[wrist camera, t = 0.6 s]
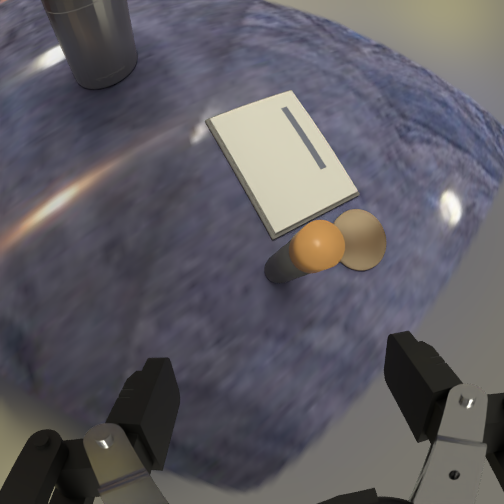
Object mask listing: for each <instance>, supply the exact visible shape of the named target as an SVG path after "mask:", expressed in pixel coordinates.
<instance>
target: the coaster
mask: <svg viewBox="0 0 504 504" xmlns="http://www.w3.org/2000/svg"><path fill="white" fill-rule="evenodd" d="M334 225H335V226H336V227H337V228H338V229H339V230H340V231H341V233H342V235H343V237H344V241H345V251H344V255H343V257H342V259H341V260H340V262H341V263H342V264H344V265H345V266H346V267H348V268H350V269H353V270H359V271H361V270H367V269H370V268H372V267H374V266H376V265H377V264H378V263H379V262H380V261H381V259H382V258H383V256H384V253H385V250H386V236H385V232H384V229H383V227H382V225H381V224H380V222H379V221H378V220H377V219H376V218H375V217H374V216H373V215H372V214H370V213H369V212H366V211H364V210H360V209H353V210H348V211H346V212H344V213H343V214H341V215H340V216H339V217H338V218H337V219H336V220H335V222H334Z"/></svg>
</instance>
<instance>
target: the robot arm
mask: <svg viewBox="0 0 504 504" xmlns="http://www.w3.org/2000/svg"><path fill="white" fill-rule="evenodd" d="M41 2H42V4H43V6H44V9H45V11H46V13H47V16H48V18H49V21H50V23H51V25H52V28H53V30H54V33H55V35H56V37H57V39H58V42H59V44H60V46H61V48H62V51H63V53H64V55H65V57H66V60H67V62H68V64H69V66H70V68H71V71H72V73H73V75H74V77H75V79H76V81H77V82H78V84H79V85H81V86H82V87H85V88H87V89H101V88H105V87H108V86H111V85H114V84H116V83H117V82H119V81H121V80H122V79H124V78H125V77H126V76H127V75H128V74H129V73H130V72H131V71H132V70H133V68H134V67H135V65H136V63H137V52H136V47H135V42H134V36H133V31H132V26H131V20H130V15H129V9H128V4H127V0H41ZM384 376H385V381H386V383H387V385H388V387H389V389H390V391H391V393H392V395H393V396H394V398H395V400H396V402H397V404H398V406H399V408H400V410H401V412H402V414H403V416H404V417H405V419H406V421H407V423H408V425H409V427H410V429H411V431H412V433H413V435H414V437H415V439H416V441H417V442H418V443H419V442H422V441H425V440H428V439H429V441H430V443H431V445H430V448H429V450H428V453H427V456H426V459H425V462H424V464H423V467H422V470H421V472H420V475H419V477H418V480H417V482H416V485H415V487H414V489H413V492H412V494H411V496H410V498H409V500H408V501H407V500H404V499H400V498H394V497H377V493H376V490H375V488H372V489H367V490H363V491H358V492H354V493H349V494H344V495H339V496H336V497H334V498H331V499H329V500H326V501H323V502H321V503H318V504H475V501H476V497H477V493H478V489H479V485H480V480H481V476H482V471H483V466H484V461H485V457H486V458H487V460H488V462H489V464H490V466H491V468H492V470H493V471H494V473H495V475H496V477H497V479H498V481H499V483H500V485H501V487H502V489H503V491H504V393H498V394H486V393H485V391H484V390H483V389H482V388H480V387H479V386H476V385H473V384H463V383H462V382H461V380H460V379H459V378H458V377H457V375H456V374H455V373H454V372H453V370H452V369H451V368H450V367H449V366H448V364H447V363H445V361H444V360H443V358H442V357H441V356H439V354H438V353H437V352H436V350H435V349H434V348H433V347H432V346H430V345H428V344H427V343H425V342H423V341H420V342H418V341H417V340H416V339H415V338H414V336H413V335H412V334H411V333H410V332H409V331H404V332H399V333H394V334H390V335H389V336H388V339H387V348H386V356H385V364H384ZM122 389H123V390H121V392H120V394H119V398H117V400H116V402H115V404H114V406H113V408H112V410H111V412H110V414H109V416H108V418H107V420H106V422H105V423H103V424H99V425H96V426H94V427H92V428H91V429H90V430H89V431H88V432H87V433H86V434H85V436H84V438H83V439H76V440H66V441H63V440H62V438H61V437H60V435H59V434H58V433H57V432H56V431H54V430H49V429H46V430H41V431H38V432H36V433H34V434H33V435H32V436H31V437H30V438H29V439H28V441H27V442H26V444H25V446H24V447H23V449H22V451H21V453H20V455H19V456H18V458H17V460H16V462H15V464H14V466H13V467H12V469H11V471H10V473H9V475H8V477H7V479H6V480H5V482H4V484H3V486H2V488H1V490H0V504H48V501H49V498H50V496H51V493H52V491H53V489H54V486H55V490H54V492H53V495H52V497H51V500H50V502H49V504H93V501H94V498H95V497H99V496H100V497H101V499H102V501H103V503H104V504H169V503H168V502H167V500H166V499H165V497H164V496H163V495H162V493H161V492H160V490H159V488H158V487H157V485H156V484H155V483H154V481H153V479H152V478H151V476H150V473H151V470H161V471H163V467H164V463H165V459H166V455H167V451H168V447H169V443H170V440H171V436H172V432H173V428H174V424H175V420H176V416H177V413H178V409H179V405H180V393H179V388H178V385H177V382H176V378H175V375H174V371H173V368H172V364H171V361H170V359H169V358H148V359H147V361H146V363H145V365H144V367H143V369H142V371H136V372H135V373H133V374H132V375H131V376H130V377H129V378H128V379H127V380H126V382H125V384H124V386H123V388H122Z"/></svg>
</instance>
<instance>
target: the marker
mask: <svg viewBox="0 0 504 504" xmlns="http://www.w3.org/2000/svg"><path fill="white" fill-rule="evenodd" d="M344 251H345V241H344V237H343V235H342V233H341V231H340V230H339V229H338V228H337V227H336V226H335V225H334V224H332V223H331V222H328V221H325V220H315V221H312V222H310V223H308V224H307V225H306V226H305V227H304V228H302V229H301V230H300V231H299V232H298V233H297V234H295V235H294V237H293V238H292V239H291V240H290V241H289V242H288V243H287V244H286V245H284V246H283V247H282V248H281V249H280V250H278V251H277V252H276V253H275V254H274V255H272V256H271V257H270V258H269V259H268V261H267V263H266V265H265V274H266V276H267V278H268V279H269V280H270V281H272V282H274V283H285V282H288V281H291V280H293V279H296V278H299V277H302V276H305V275H307V274H310V273H317V272H320V271H322V270H325V269H328V268H331V267H333V266H335V265H336V264H338V263H339V262H340V260H341V259H342V257H343V255H344Z"/></svg>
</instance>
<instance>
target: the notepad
mask: <svg viewBox="0 0 504 504" xmlns="http://www.w3.org/2000/svg"><path fill="white" fill-rule="evenodd" d="M205 122H206V124H207V126H208V128H209V129H210V131H211V133H212V134H213V136H214V138H215V140H216V141H217V143H218V145H219V147H220V148H221V150H222V152H223V154H224V155H225V157H226V159H227V161H228V162H229V164H230V166H231V168H232V169H233V171H234V173H235V175H236V176H237V178H238V180H239V182H240V183H241V185H242V187H243V189H244V190H245V192H246V194H247V196H248V198H249V199H250V201H251V203H252V205H253V206H254V208H255V210H256V212H257V214H258V215H259V217H260V219H261V221H262V223H263V224H264V226H265V228H266V230H267V232H268V233H269V235H270V237H271V239H272V240H274V239H276V238H278V237H279V236H281V235H283V234H285V233H287V232H289V231H291V230H293V229H295V228H297V227H299V226H301V225H303V224H305V223H306V222H308V221H310V220H312V219H314V218H316V217H318V216H320V215H322V214H324V213H326V212H328V211H330V210H332V209H333V208H335V207H337V206H339V205H341V204H343V203H345V202H347V201H349V200H351V199H353V198H355V197H357V196H358V195H360V194H359V192H358V191H357V189H356V187H355V186H354V184H353V182H352V181H351V179H350V177H349V176H348V174H347V172H346V171H345V169H344V168H343V166H342V164H341V163H340V161H339V160H338V158H337V156H336V155H335V153H334V152H333V150H332V149H331V147H330V146H329V144H328V142H327V141H326V139H325V138H324V136H323V135H322V133H321V132H320V130H319V129H318V127H317V126H316V125H315V123H314V122H313V120H312V119H311V117H310V116H309V114H308V113H307V112H306V110H305V109H304V107H303V106H302V104H301V103H300V102H299V100H298V99H297V97H296V96H295V95H294V93H293V92H292V91H291V90H290V91H286V92H283V93H280V94H277V95H274V96H271V97H267V98H264V99H261V100H258V101H256V102H253V103H250V104H247V105H244V106H241V107H238V108H236V109H233V110H230V111H228V112H225V113H222V114H220V115H217V116H214V117H212V118H209V119H207V120H205Z"/></svg>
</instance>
